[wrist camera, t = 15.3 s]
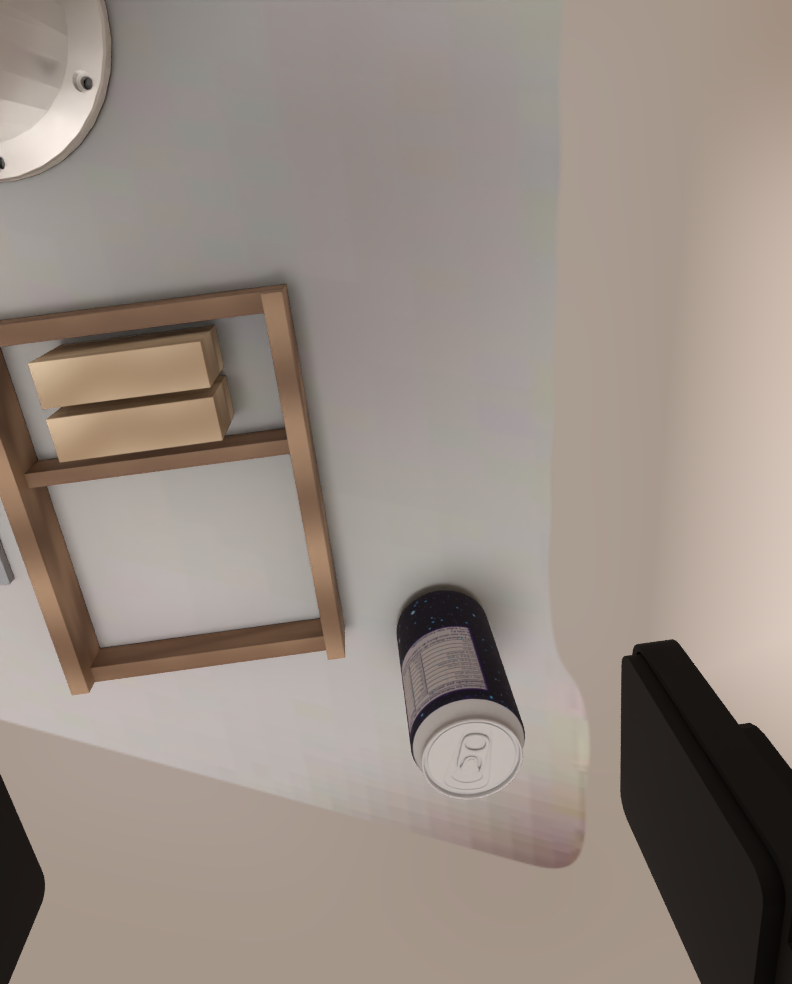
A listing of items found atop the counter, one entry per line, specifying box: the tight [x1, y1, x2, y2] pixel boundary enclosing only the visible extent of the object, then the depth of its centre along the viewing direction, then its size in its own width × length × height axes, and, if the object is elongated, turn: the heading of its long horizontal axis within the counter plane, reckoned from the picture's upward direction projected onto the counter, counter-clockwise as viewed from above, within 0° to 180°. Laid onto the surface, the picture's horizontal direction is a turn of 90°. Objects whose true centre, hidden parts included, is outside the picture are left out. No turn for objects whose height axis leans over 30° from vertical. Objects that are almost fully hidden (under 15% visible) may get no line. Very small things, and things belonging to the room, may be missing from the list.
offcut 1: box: [28, 325, 224, 409], centre depth 36 cm, size 2×8×4 cm, turn 97°
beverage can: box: [397, 591, 525, 799], centre depth 40 cm, size 6×6×12 cm
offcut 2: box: [46, 376, 234, 462], centre depth 37 cm, size 2×8×4 cm, turn 97°
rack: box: [0, 284, 345, 695], centre depth 40 cm, size 21×16×3 cm
